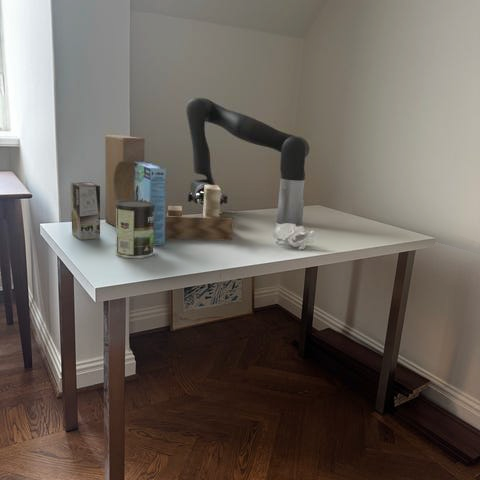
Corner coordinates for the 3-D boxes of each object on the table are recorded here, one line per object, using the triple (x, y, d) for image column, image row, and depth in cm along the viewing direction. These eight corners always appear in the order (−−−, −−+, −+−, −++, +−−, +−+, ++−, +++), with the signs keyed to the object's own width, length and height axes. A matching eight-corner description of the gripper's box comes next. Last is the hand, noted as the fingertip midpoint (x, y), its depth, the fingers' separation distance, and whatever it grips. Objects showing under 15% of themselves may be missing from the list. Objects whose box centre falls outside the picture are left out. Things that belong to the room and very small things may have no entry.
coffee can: (155, 249, 135) (156, 201, 131) (151, 259, 125) (152, 207, 122) (118, 247, 134) (119, 199, 130) (112, 257, 124) (112, 205, 121)
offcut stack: (181, 230, 160) (182, 205, 158) (181, 237, 151) (182, 211, 149) (166, 229, 159) (167, 204, 157) (166, 236, 150) (166, 210, 148)
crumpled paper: (267, 225, 148) (295, 216, 154) (266, 244, 152) (294, 234, 158) (291, 241, 140) (320, 231, 146) (289, 260, 143) (318, 249, 149)
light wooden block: (215, 231, 162) (217, 185, 158) (218, 238, 153) (220, 189, 149) (202, 230, 161) (204, 184, 157) (204, 237, 152) (206, 188, 148)
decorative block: (105, 221, 164) (104, 134, 157) (125, 220, 169) (125, 135, 162) (122, 231, 153) (123, 137, 146) (143, 229, 158) (145, 138, 150)
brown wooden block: (226, 229, 165) (227, 210, 163) (231, 240, 151) (233, 218, 149) (160, 227, 161) (161, 207, 159) (159, 238, 147) (160, 216, 146)
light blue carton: (164, 245, 140) (167, 168, 134) (148, 246, 138) (149, 168, 132) (148, 230, 157) (149, 161, 151) (133, 230, 154) (134, 161, 149)
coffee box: (101, 238, 142) (100, 185, 138) (79, 240, 139) (78, 186, 135) (91, 231, 150) (91, 181, 146) (71, 233, 146) (70, 181, 142)
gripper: (187, 183, 178) (188, 189, 162) (224, 185, 180) (229, 191, 164) (186, 202, 179) (188, 210, 164) (223, 204, 182) (228, 212, 166)
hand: (208, 201), depth 164 cm, fingers open, 8 cm apart
